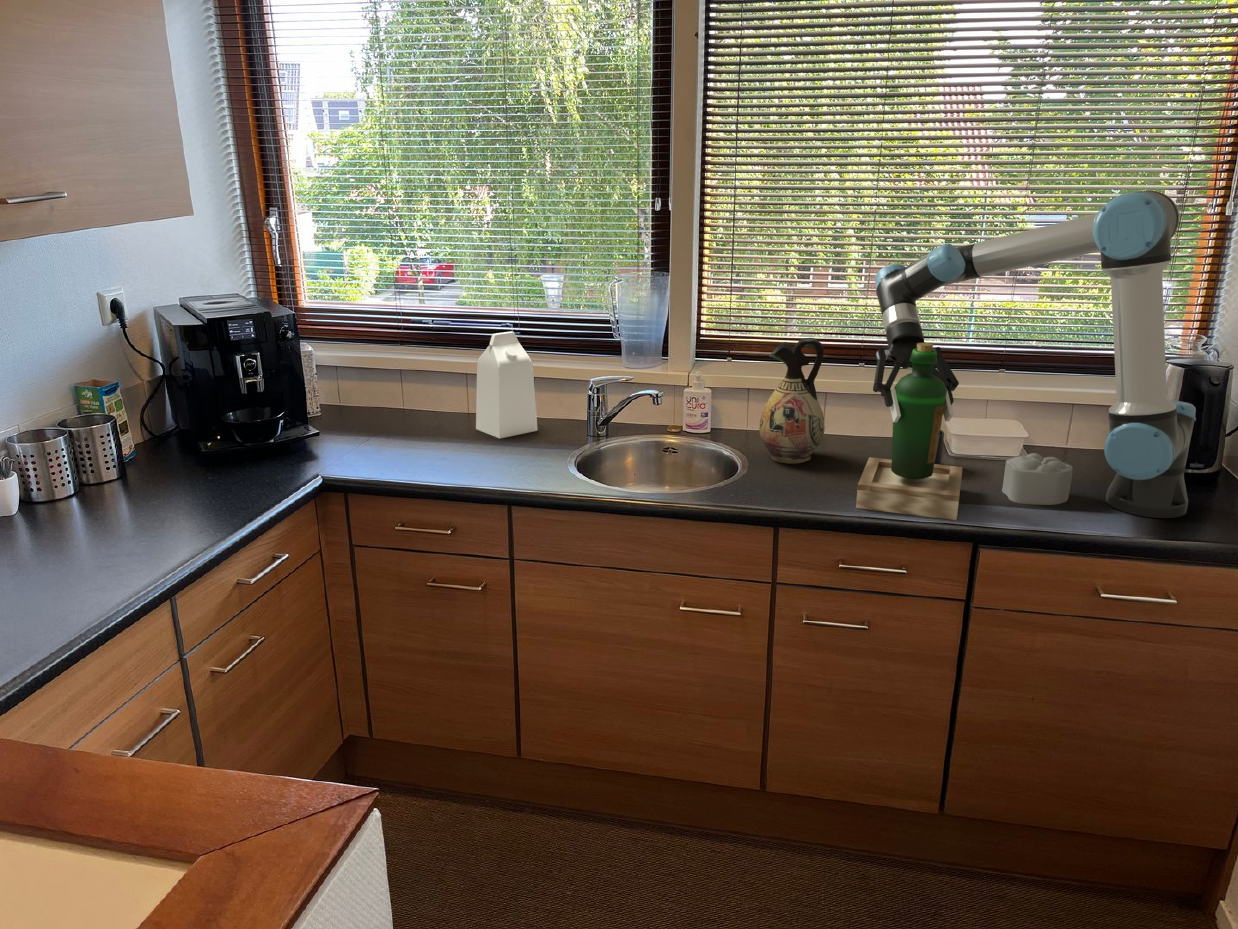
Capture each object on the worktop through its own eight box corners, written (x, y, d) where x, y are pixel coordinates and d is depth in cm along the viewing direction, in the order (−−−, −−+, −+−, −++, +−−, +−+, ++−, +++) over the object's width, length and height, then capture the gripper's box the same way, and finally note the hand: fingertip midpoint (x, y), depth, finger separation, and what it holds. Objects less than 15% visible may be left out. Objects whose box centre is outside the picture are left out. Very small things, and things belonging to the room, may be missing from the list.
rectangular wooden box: (959, 489, 213) (962, 467, 211) (956, 520, 195) (959, 496, 193) (867, 478, 219) (869, 457, 218) (855, 507, 202) (857, 484, 200)
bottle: (948, 478, 203) (963, 347, 194) (907, 484, 199) (920, 350, 190) (916, 464, 212) (929, 337, 203) (875, 469, 208) (887, 341, 200)
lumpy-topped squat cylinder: (998, 488, 214) (1003, 450, 211) (1058, 489, 213) (1063, 452, 211) (1013, 504, 204) (1019, 465, 202) (1076, 505, 204) (1082, 466, 201)
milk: (513, 421, 265) (510, 327, 257) (537, 430, 257) (535, 333, 249) (476, 429, 258) (471, 332, 250) (499, 438, 249) (495, 339, 241)
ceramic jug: (754, 466, 228) (760, 340, 219) (761, 447, 242) (767, 329, 233) (827, 471, 224) (837, 344, 215) (830, 452, 239) (839, 332, 229)
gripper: (948, 339, 213) (970, 426, 203) (846, 340, 211) (863, 428, 201) (960, 319, 206) (984, 408, 196) (856, 320, 204) (874, 410, 194)
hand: (923, 418), depth 199 cm, fingers closed on bottle, 10 cm apart
